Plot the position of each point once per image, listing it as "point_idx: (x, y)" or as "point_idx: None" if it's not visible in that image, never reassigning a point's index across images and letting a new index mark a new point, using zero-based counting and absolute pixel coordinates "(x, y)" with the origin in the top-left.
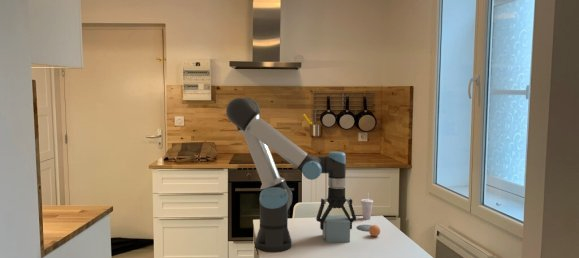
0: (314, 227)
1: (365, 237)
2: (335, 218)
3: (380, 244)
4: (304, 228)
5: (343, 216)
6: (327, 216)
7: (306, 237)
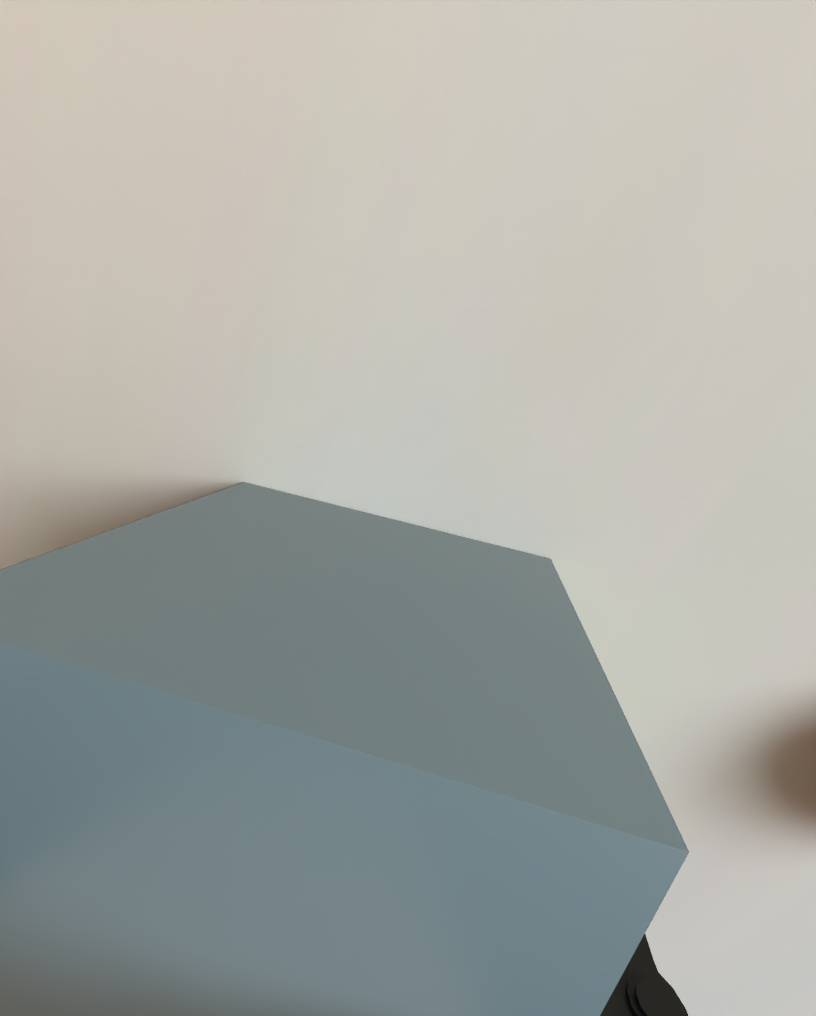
0: (210, 50)
1: (768, 752)
2: (207, 958)
3: (770, 979)
4: (43, 83)
5: (543, 918)
6: (21, 724)
7: (40, 513)
